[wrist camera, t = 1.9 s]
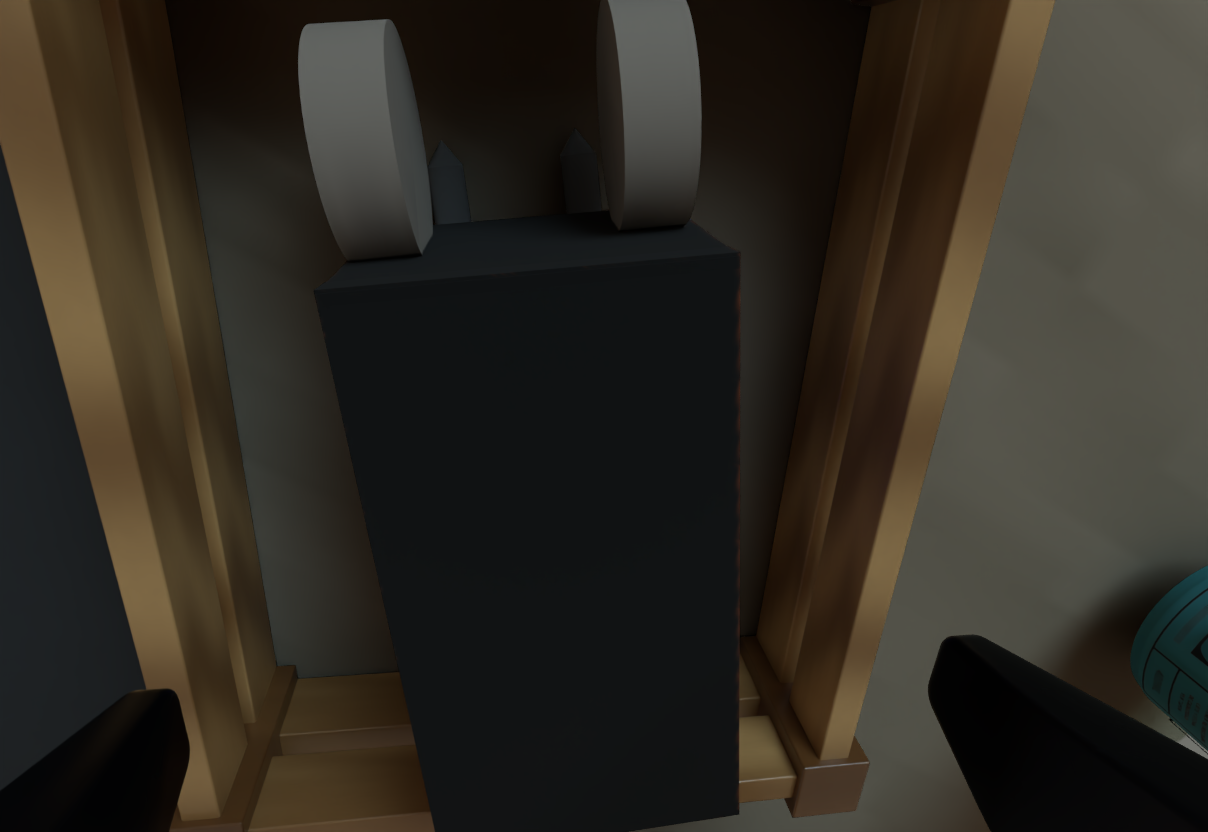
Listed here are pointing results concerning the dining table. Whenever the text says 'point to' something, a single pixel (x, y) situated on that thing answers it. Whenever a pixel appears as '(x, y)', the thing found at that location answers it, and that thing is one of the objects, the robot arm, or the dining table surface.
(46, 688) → the mat
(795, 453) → the crate
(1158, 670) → the beverage bottle
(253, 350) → the dining table surface
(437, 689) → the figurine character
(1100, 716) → the robot arm
